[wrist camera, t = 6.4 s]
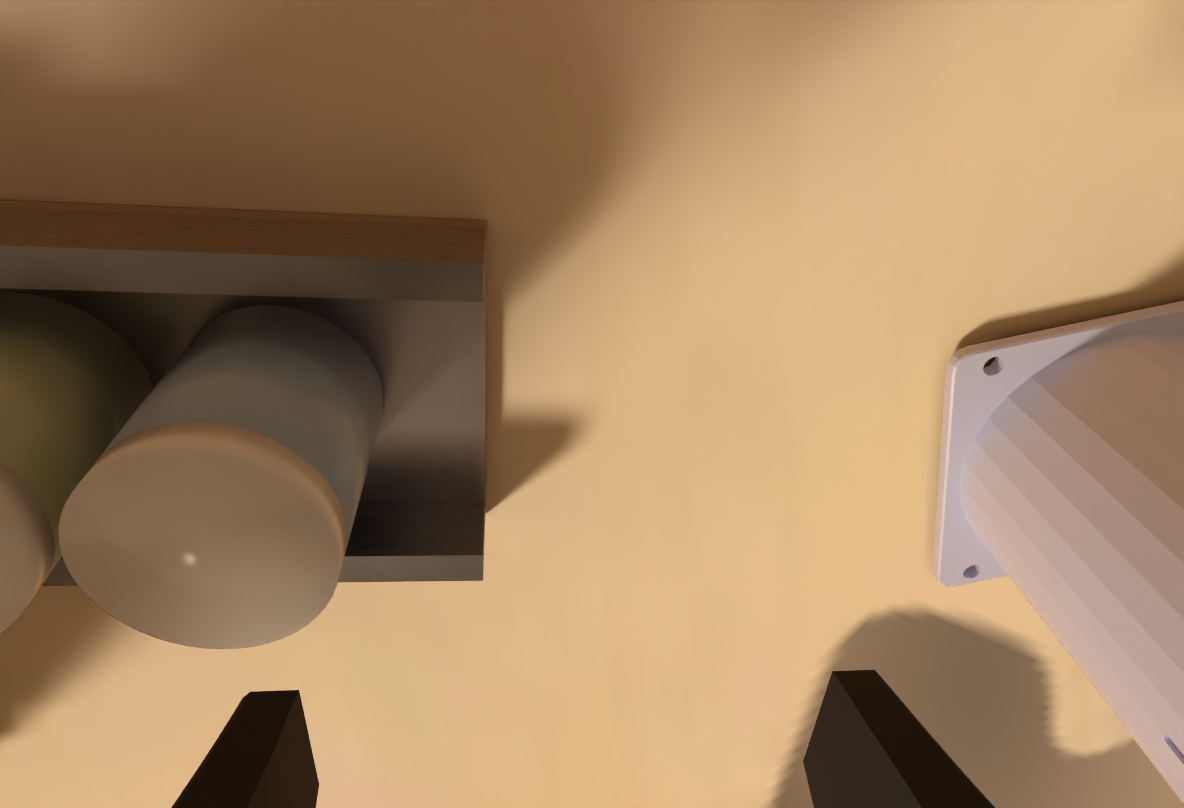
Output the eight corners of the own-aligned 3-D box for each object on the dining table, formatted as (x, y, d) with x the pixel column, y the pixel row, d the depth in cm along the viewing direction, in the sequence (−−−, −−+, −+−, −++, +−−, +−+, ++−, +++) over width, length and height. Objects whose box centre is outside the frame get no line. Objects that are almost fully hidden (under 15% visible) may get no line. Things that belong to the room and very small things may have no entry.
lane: (486, 220, 16) (480, 308, 13) (485, 515, 21) (480, 646, 17) (-492, 179, 14) (-845, 269, 11) (-272, 517, 18) (-469, 667, 15)
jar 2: (348, 288, 16) (285, 427, 12) (406, 455, 19) (371, 625, 14) (144, 325, 16) (1, 478, 12) (227, 487, 19) (135, 667, 14)
